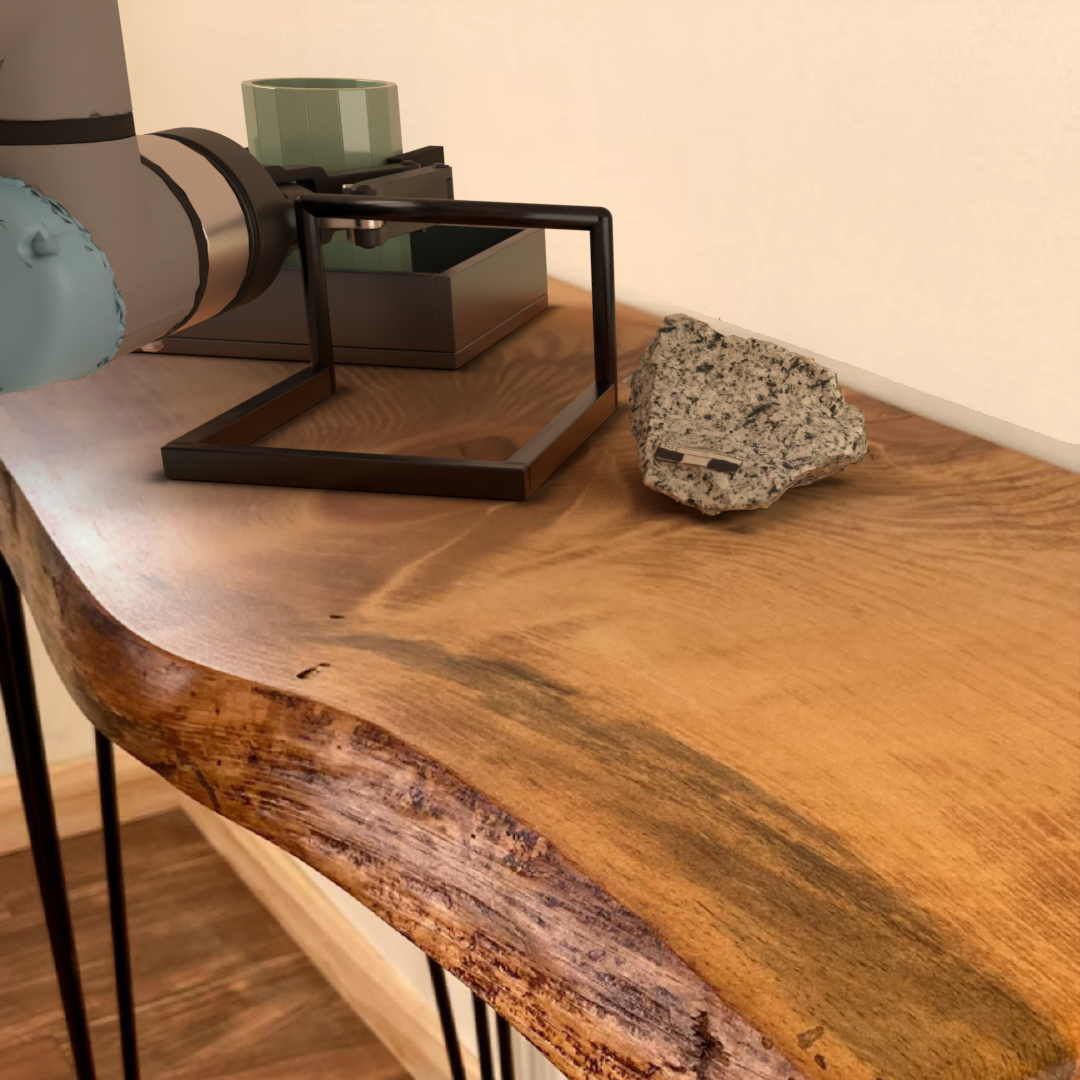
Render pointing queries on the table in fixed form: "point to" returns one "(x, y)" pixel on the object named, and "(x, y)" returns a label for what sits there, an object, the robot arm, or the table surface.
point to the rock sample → (736, 418)
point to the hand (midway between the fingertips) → (363, 169)
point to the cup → (329, 144)
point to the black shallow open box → (395, 304)
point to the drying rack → (224, 438)
